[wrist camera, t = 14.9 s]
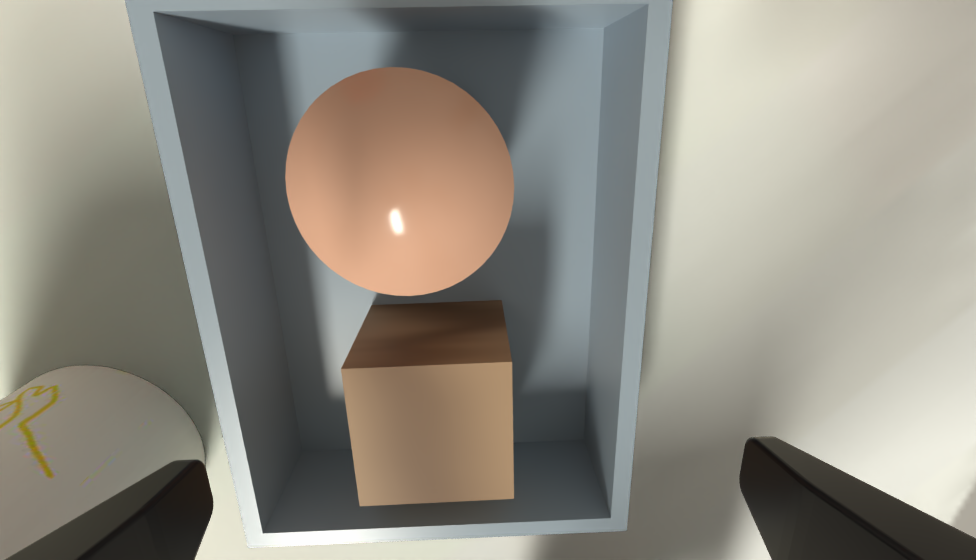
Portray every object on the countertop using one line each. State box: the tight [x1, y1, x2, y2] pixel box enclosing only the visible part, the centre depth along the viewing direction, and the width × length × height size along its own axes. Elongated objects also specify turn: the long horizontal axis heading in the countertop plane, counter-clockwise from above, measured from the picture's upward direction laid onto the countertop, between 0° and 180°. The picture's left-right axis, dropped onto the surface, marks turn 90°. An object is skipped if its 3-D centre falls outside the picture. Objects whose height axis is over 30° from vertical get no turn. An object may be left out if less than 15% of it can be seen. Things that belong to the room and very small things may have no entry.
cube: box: [341, 300, 514, 506], centre depth 18 cm, size 5×5×5 cm
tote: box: [125, 0, 673, 548], centre depth 17 cm, size 17×13×5 cm
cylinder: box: [285, 67, 514, 296], centre depth 15 cm, size 5×5×7 cm
